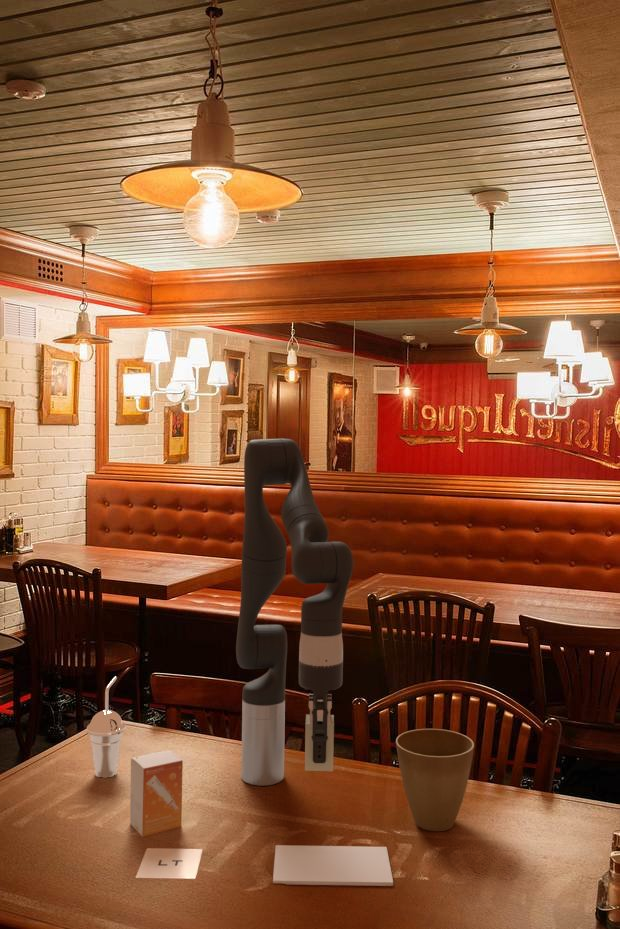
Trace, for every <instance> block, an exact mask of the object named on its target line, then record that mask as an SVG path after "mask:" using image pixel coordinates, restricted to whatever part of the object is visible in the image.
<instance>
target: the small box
mask: <svg viewBox="0 0 620 929" xmlns="http://www.w3.org/2000/svg"><path fill="white" fill-rule="evenodd" d="M183 762H184V761H183V759H181V757H179V756H178V755H177V754H175V752H173V751H172V750H170V749H167V750H163V751H158V752H151V753H146V754H143V755H139V756H134V757H131V758H130V796H129V797H130V798H129V800H130V803H129V812H130V813H129V814H130V816H129V824H130V826H132V827H133V828H134V830H136V832H137V833H138V834H139V835H140V836H141V837H142V838H143V837H146V836H151V835H154V834H158V833H162V832H165V831H168V830H169V831H170V830H172V829H173V830H174V829H176V828H179V827H180V828H181V827H182V814H183V813H182V811H183V810H182V809H183V808H182V807H183Z"/></svg>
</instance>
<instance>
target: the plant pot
mask: <svg viewBox="0 0 620 929" xmlns="http://www.w3.org/2000/svg"><path fill="white" fill-rule="evenodd" d="M395 745H396V752H397V753H396V754H397V759H398V764H399V765H398V766H399V771H400V776H401V780H402V784H403V788H404V793H405V795H406V799H407V803H408V806H409V809H410V812H411V814H412V817H413V820H414V823H415V825H416V826H417V827H418V828H420V829H423V830H426V831H429V832H445V831H448V830H450V829H451V828H453V826H454V824H455V822H456V820H457V818H458V817H457V816H458V814H459V812H460V809H461V807H462V803H463V799H464V797H465V794H466V790H467V787H468V781H469V778H470V773H471V768H472V763H473V758H474V756H473V755H474V748H475V743H474V741H473V739H471V738H470V737H468V736H467V735H464V734H462V733H460V732H457V731H453V730H448V729H443V728H442V729H440V728H419V729H413V730H412V729H411V730H408V731H405V732H402V733H401V734H399V735H398V736H397V737H396V739H395Z"/></svg>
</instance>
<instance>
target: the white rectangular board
mask: <svg viewBox="0 0 620 929" xmlns="http://www.w3.org/2000/svg"><path fill="white" fill-rule="evenodd" d="M274 849H275V850H274V862H273V874H272V876H273V877H272V884H284V885H298V886H299V885H306V886H307V885H308V886H364V887H365V886H366V887H369V886H370V887H371V886H372V887H376V886H379V887H381V886H382V887H394V880H393V873H392V868H391V863H390V857H389V852H388V848H387V846H357V845H356V846H354V845H353V846H352V845H351V846H349V845H296V844H295V845H294V844H293V845H290V844H288V845H286V844H285V845H284V844H281V845H280V844H277V845H276V844H275V848H274Z"/></svg>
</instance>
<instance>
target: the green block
mask: <svg viewBox="0 0 620 929" xmlns="http://www.w3.org/2000/svg"><path fill="white" fill-rule="evenodd" d="M334 717H335V715H334V714H330V726H329V727H327V736H328V739H327V742H326V762H325V763H314V762H313V741H312V734H313V727H312V726H310V714H305V723H304V724H305V727H304V728H305V730H304V731H305V732H304V734H305V735H304V738H305V739H304V740H305V741H304V744H305V745H304V771H306V772H307V771H308V772H309V771H311V772H313V771H314V772H334V751H335V750H334V742H335V741H334V740H335V739H334V738H335V734H334V733H335V720H334V719H335V718H334ZM315 734H324V730H316V731H315Z"/></svg>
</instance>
